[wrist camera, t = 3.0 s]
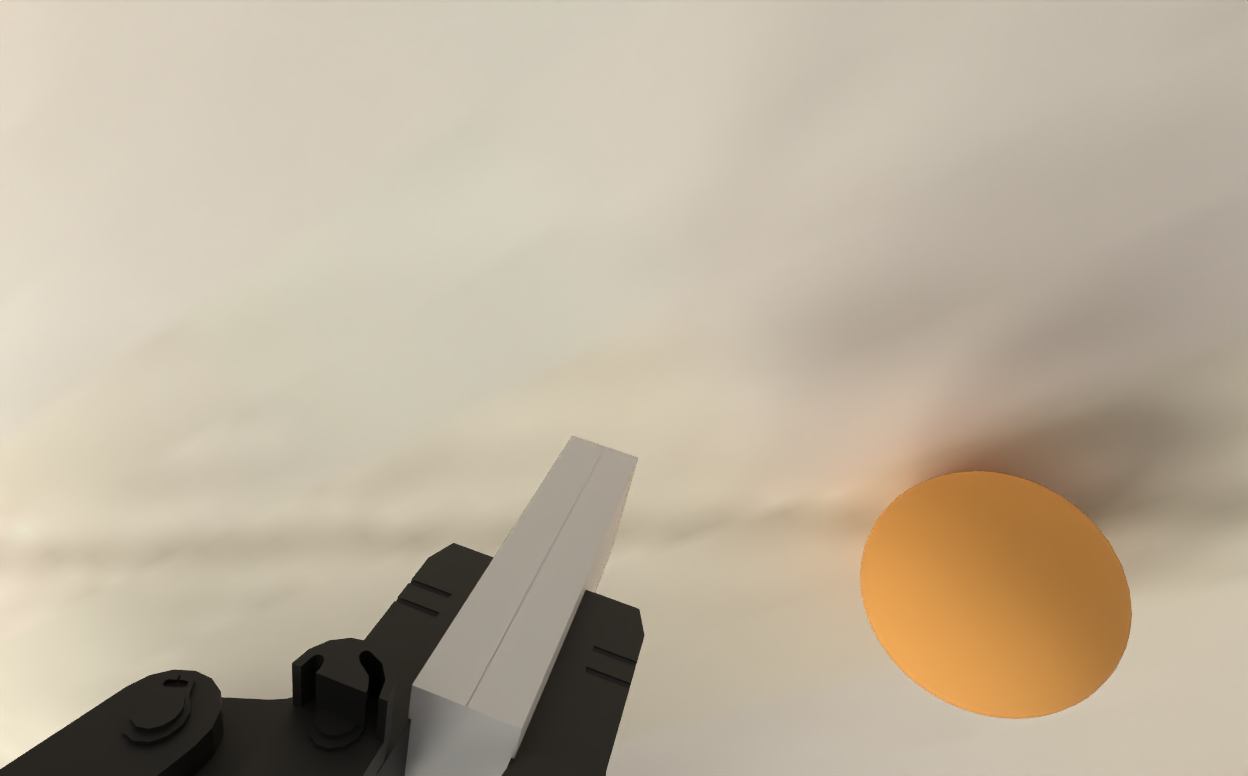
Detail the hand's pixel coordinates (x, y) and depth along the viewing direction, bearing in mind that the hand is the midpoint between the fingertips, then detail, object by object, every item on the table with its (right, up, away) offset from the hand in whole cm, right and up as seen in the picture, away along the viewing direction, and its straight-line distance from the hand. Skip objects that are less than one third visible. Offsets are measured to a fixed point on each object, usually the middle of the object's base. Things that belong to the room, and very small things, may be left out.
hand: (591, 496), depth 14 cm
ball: (+9, -2, +1) cm, 10 cm away
